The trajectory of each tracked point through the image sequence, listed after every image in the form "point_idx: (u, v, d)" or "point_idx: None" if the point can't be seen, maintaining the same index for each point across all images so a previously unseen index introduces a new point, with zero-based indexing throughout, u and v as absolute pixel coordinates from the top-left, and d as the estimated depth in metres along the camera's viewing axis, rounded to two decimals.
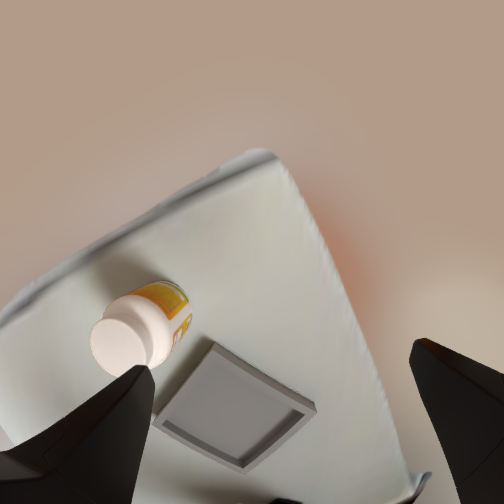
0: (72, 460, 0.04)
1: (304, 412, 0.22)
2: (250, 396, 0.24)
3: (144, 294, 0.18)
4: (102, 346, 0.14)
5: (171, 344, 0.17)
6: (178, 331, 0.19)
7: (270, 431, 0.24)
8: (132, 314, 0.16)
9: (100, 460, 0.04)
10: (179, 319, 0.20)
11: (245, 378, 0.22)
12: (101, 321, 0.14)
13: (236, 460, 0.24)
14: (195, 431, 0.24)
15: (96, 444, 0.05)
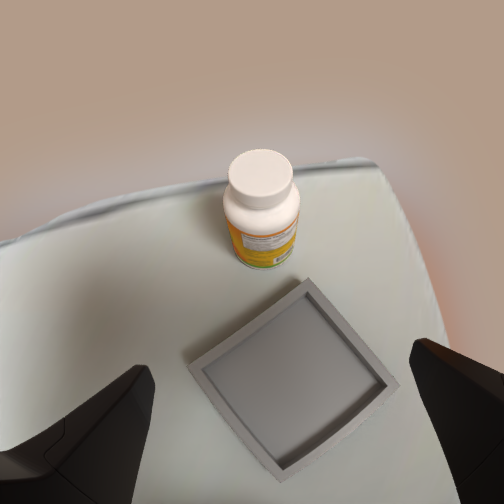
0: (72, 460, 0.04)
1: (387, 382, 0.18)
2: (328, 355, 0.20)
3: None
4: (245, 166, 0.17)
5: (296, 214, 0.19)
6: (296, 222, 0.20)
7: (336, 416, 0.18)
8: None
9: (100, 460, 0.04)
10: None
11: (334, 318, 0.20)
12: (256, 149, 0.17)
13: (275, 459, 0.16)
14: (237, 398, 0.19)
15: (95, 444, 0.05)
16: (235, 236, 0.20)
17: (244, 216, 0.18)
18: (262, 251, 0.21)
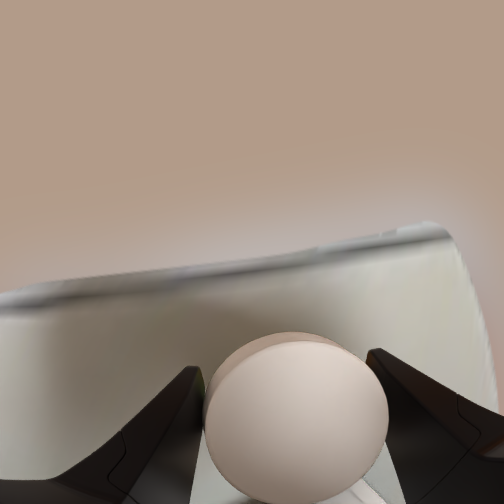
0: (142, 479, 0.04)
1: None
2: None
3: None
4: (255, 414, 0.05)
5: None
6: None
7: None
8: None
9: (165, 473, 0.04)
10: None
11: None
12: (291, 344, 0.06)
13: None
14: None
15: (159, 457, 0.05)
16: None
17: None
18: None
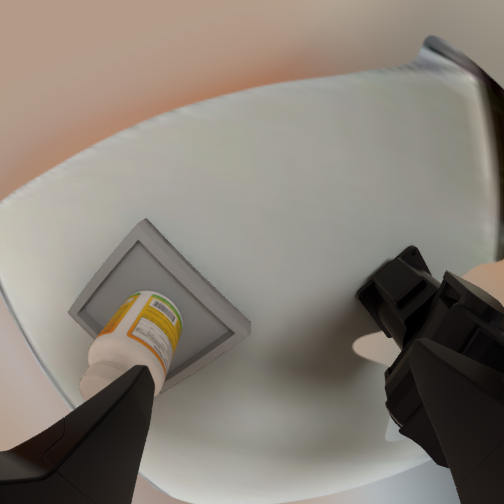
0: (72, 460, 0.04)
1: (134, 240, 0.18)
2: (123, 290, 0.21)
3: None
4: None
5: (133, 342, 0.15)
6: (136, 324, 0.16)
7: (178, 281, 0.21)
8: None
9: (100, 460, 0.04)
10: (130, 317, 0.17)
11: (89, 293, 0.20)
12: (83, 397, 0.13)
13: (227, 333, 0.22)
14: (176, 358, 0.23)
15: (95, 444, 0.05)
16: None
17: None
18: (172, 348, 0.18)
